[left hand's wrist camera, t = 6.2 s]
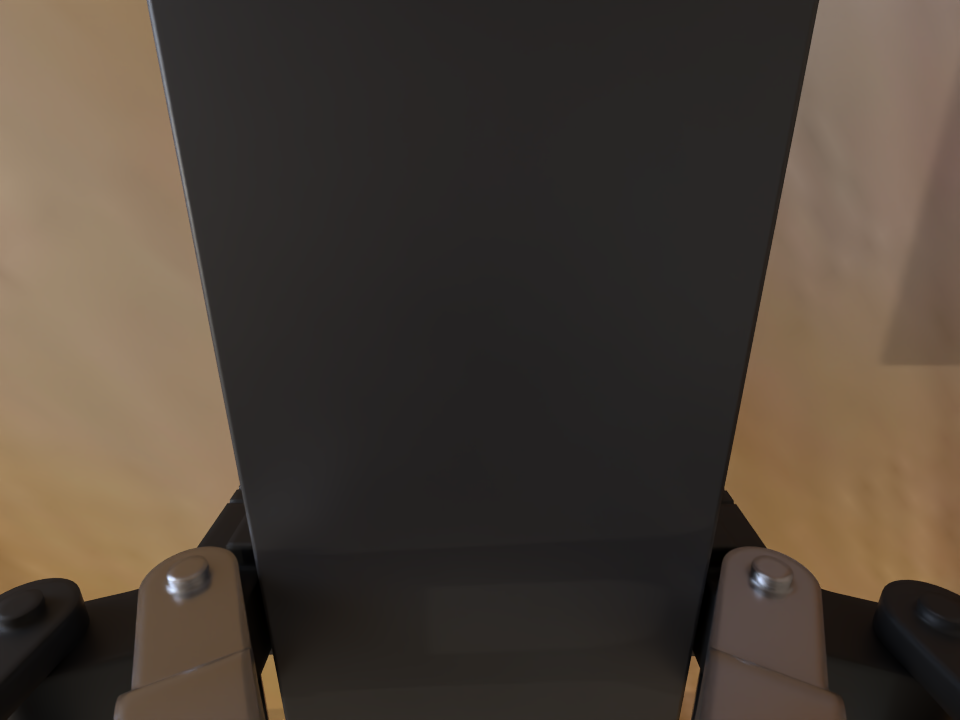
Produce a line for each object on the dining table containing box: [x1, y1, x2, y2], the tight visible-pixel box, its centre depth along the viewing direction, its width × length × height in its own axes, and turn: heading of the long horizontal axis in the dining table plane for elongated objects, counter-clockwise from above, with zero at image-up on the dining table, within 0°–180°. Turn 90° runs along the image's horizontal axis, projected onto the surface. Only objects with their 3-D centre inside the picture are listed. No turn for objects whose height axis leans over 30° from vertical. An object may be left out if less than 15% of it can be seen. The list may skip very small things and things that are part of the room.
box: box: [147, 0, 819, 720], centre depth 10 cm, size 21×6×10 cm, turn 0°
